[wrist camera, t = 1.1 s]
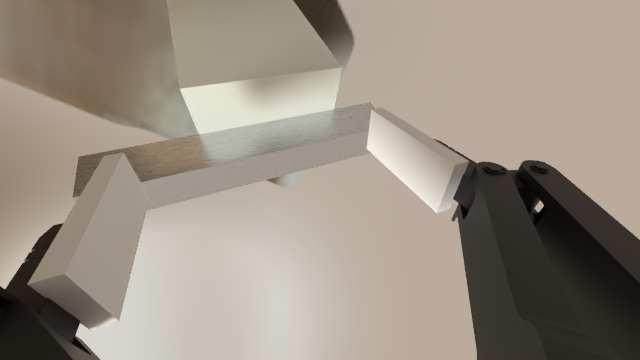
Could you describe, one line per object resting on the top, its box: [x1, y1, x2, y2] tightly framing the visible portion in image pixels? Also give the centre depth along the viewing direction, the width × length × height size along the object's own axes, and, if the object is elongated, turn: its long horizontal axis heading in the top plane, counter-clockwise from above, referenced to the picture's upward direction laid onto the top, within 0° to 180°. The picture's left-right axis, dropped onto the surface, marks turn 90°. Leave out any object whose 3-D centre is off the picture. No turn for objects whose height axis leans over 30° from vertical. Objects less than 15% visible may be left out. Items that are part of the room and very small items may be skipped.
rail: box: [73, 103, 375, 210], centre depth 21 cm, size 4×24×4 cm, turn 83°
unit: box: [166, 0, 342, 134], centre depth 30 cm, size 12×12×30 cm
